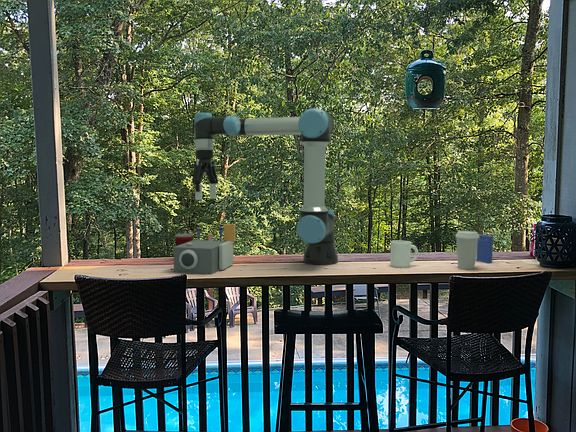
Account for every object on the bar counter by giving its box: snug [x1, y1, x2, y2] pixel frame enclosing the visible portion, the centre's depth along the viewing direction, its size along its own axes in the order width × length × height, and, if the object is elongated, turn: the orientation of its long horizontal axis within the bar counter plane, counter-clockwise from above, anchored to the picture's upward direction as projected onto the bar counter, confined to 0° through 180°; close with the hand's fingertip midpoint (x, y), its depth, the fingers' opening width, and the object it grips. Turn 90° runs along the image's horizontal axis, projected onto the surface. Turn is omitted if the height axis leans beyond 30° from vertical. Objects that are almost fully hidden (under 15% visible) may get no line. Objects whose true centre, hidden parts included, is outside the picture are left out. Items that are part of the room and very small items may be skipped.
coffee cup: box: [455, 230, 480, 270], centre depth 232 cm, size 10×10×15 cm
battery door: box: [219, 223, 237, 271], centre depth 230 cm, size 4×13×17 cm, turn 166°
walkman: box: [475, 233, 494, 264], centre depth 247 cm, size 8×3×12 cm, turn 39°
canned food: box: [174, 233, 194, 247], centre depth 250 cm, size 8×8×11 cm
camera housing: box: [173, 239, 227, 275], centre depth 228 cm, size 16×22×11 cm
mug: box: [389, 239, 419, 268], centre depth 236 cm, size 12×8×10 cm
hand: (206, 199), depth 241 cm, fingers open, 13 cm apart
